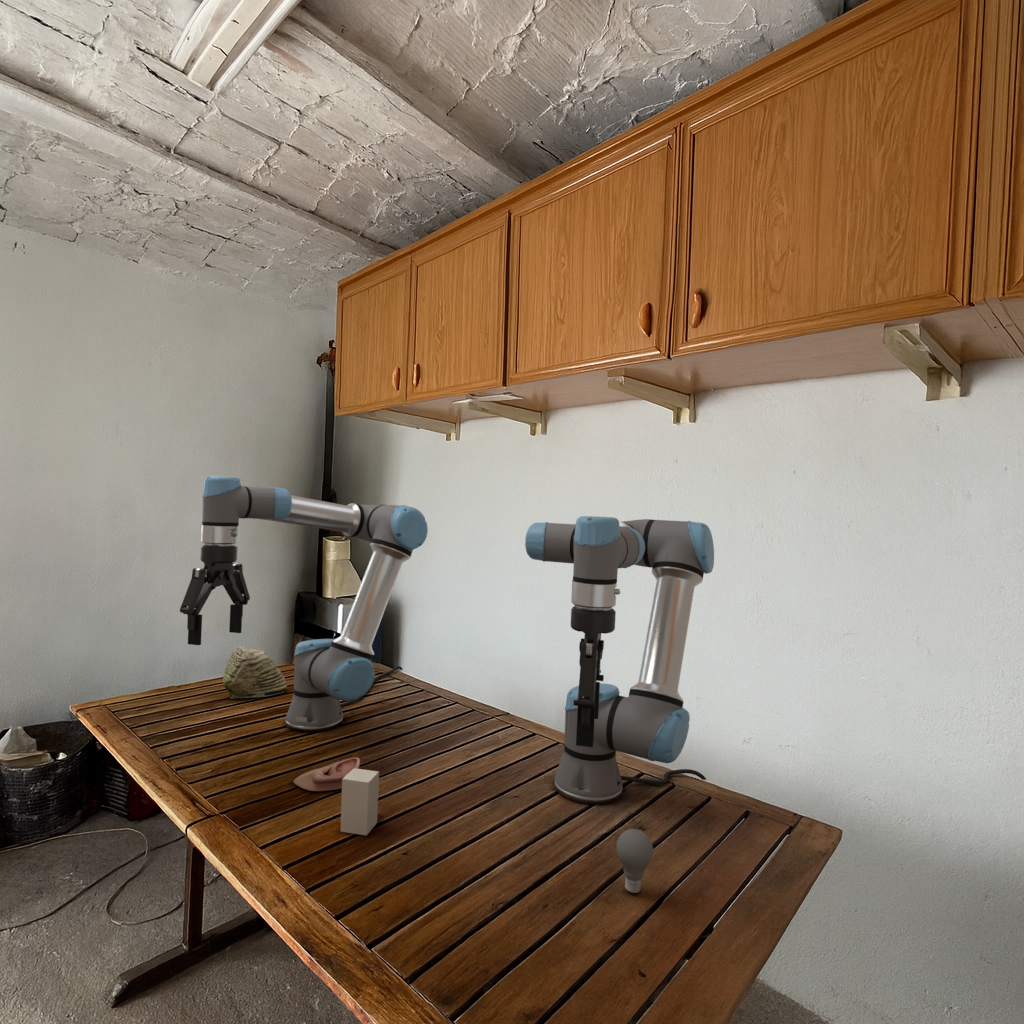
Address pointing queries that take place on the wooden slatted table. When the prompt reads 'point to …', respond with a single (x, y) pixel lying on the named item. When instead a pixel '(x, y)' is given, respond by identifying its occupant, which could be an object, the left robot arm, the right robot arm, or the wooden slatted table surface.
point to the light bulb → (634, 857)
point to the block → (359, 801)
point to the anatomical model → (327, 776)
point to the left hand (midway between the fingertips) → (215, 638)
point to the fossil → (252, 674)
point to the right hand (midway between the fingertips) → (587, 731)
